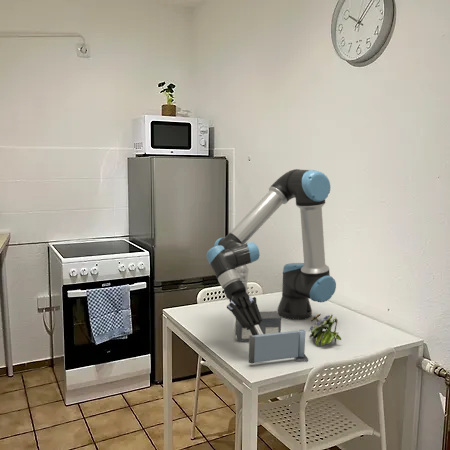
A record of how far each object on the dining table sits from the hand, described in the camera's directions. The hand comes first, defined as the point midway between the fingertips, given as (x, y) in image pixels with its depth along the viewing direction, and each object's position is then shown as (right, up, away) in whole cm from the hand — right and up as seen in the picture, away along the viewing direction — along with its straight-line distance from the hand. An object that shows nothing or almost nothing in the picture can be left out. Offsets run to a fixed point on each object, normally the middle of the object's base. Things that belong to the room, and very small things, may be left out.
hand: (263, 343), depth 168 cm
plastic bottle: (-5, +4, +72) cm, 72 cm away
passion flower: (+25, -4, +20) cm, 32 cm away
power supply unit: (0, -3, +22) cm, 23 cm away
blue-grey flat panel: (+5, -5, 0) cm, 7 cm away
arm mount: (+13, -6, +3) cm, 15 cm away
